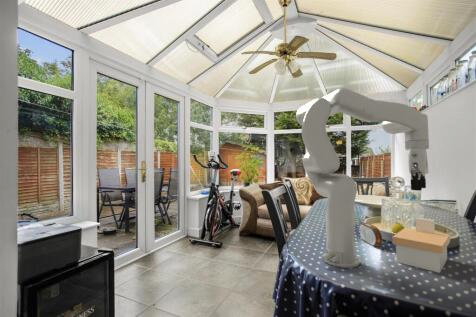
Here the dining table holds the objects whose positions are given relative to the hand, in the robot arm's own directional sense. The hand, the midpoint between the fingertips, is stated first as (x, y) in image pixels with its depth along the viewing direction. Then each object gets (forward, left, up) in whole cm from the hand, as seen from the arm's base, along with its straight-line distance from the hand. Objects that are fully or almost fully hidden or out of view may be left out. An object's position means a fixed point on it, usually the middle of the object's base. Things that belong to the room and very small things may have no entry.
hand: (418, 189), depth 93 cm
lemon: (+13, +10, -26) cm, 30 cm away
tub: (-7, -2, -25) cm, 26 cm away
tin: (0, +18, -26) cm, 32 cm away
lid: (-7, -2, -19) cm, 20 cm away
